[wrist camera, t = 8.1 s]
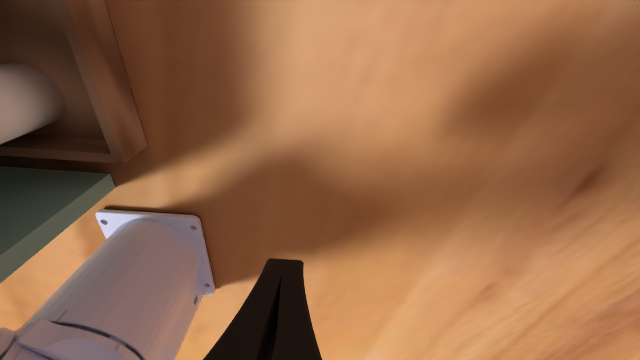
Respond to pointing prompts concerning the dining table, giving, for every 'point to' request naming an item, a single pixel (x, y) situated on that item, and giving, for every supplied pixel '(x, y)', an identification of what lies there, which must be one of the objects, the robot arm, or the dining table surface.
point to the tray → (73, 80)
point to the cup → (26, 100)
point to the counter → (42, 208)
